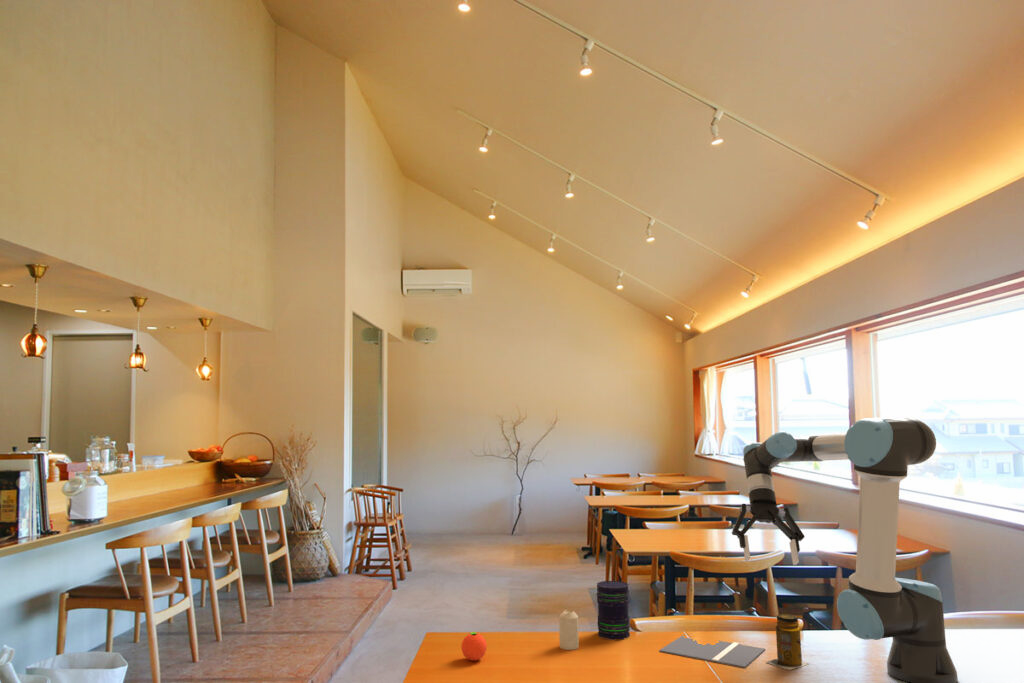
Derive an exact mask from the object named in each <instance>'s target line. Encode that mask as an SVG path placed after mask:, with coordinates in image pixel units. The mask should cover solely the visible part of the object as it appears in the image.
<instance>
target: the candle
mask: <svg viewBox="0 0 1024 683" xmlns="http://www.w3.org/2000/svg"><path fill="white" fill-rule="evenodd" d="M558 620H559V621H558V623H559V624H558V627H559V629H558V630H559V648H560V649H562V650H566V651H567V650H568V651H574V650H577V649H579V648H580V647H579V644H580V643H579V641H580V640H579V616H578V614H577V613H576V612H575V611H574V610H568V609H564V611H563V612H562V613H561V614H560V615H559V617H558Z"/></svg>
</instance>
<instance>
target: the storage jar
mask: <svg viewBox="0 0 1024 683" xmlns="http://www.w3.org/2000/svg"><path fill="white" fill-rule="evenodd" d="M596 601H597V607H598V608H597V609H598V610H597V611H598V612H597V613H598V615H597V630H598V631H597V636H598V637H600V638H601V639H606V640H611V641H612V640H614V641H616V640H615V639H621V640H625V639H624V638H626V639H628V638H630V636H631V633H630V632H631V631H630V630H631V629H630V627H631V623H630V616H629V603H630V593H629V584H628V583H627V582H624V581H619V580H605V581H604V580H603V581H599V582H597V583H596ZM598 633H599V634H598ZM627 637H628V638H627Z"/></svg>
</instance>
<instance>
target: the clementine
mask: <svg viewBox="0 0 1024 683" xmlns="http://www.w3.org/2000/svg"><path fill="white" fill-rule="evenodd" d="M487 646H488V644H487V641H486V639H485V637H484V636H483V635H481V634H480V633H477V632H474V631H473V632H469V634H467V635H466V636H464V638H463V640H462V642H461V653H462V654H463V656H464V657H465V658H466V659H467V660H469V661H474V662H475V661H479V660H480V659H482V658H483V657H484V656H485V655H486V653H487Z"/></svg>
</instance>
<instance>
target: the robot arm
mask: <svg viewBox="0 0 1024 683" xmlns="http://www.w3.org/2000/svg"><path fill="white" fill-rule="evenodd" d="M936 447H937V439H936V436H935V433H934V431H933V430H932V429H931V427H930V426H928V425H927V424H926V423H925V422H923V421H922V420H918V419H915V418H910V417H900V418H899V417H898V418H897V417H895V418H894V417H870V418H861V419H860V420H859V419H858V420H856V421H855V422H854V423H853V424H852V425H851V426H850V427H849V428H848V430H847V431H846V432H845V433H844V432H842V433H833V434H832V433H831V434H822V435H811V436H808V435H807V436H793V435H792V434H791V433H789V432H786V431H784V430H782V431H781V430H780V431H777V432H775V433H774V434H771V435H770V436H769V437H768V438H767V439H766V440H764V441H763V442H762V443H761V442H753V443H750V444H747V445H745V446H744V448H743V450H742V453H743V464H744V470H745V475H746V484H747V490H748V491H747V492H748V497H749V505H746V503H742V504H741V506H740V507H739V514H738V516H737V519H736V522H735V524H734V526H733V529H732V531H731V535H733V536H736V538H737V539H738V541H739V542H738V543H739V547H740V548H741V549H743V555H744V561H746V562H747V561H749V559H750V558H751V553H750V544H749V536H748V535H747V534H746V533H747V532H748V530H750V529H751V527H752V526H753V524H755V522H756V521H758V522H759V523H768V524H771V523H772V524H773V525H774V526H776V527H777V528H778V529H779V530H780V531H781V532H782V533H783V534H784V535H785V536H786V537H787V538H788V539H789V540H790V541H789V549H790V554H791V560H792V561H791V562H792V565H793V566H796V565H797V564H798V563H800V560H799V552H800V551H801V547H800V543H799V542H802V540H804V538H805V535H804V533H803V532H802V530H801V528H800V526H798V524H797V522H796V521H795V520H794V518H793V517H792V515H791V514H790V509H789V508H788V507H783V508H778V506H777V498H776V493H775V486H774V485H775V484H774V478H773V474H772V469H773V468H775V467H777V466H778V465H779V464H780V463H792V462H793V463H794V462H795V463H796V462H823V461H843V460H844V461H845V460H846V461H847V460H849V461H850V462H851V463H852V464H853V472H855V473H856V475H858V476H859V495H858V496H859V497H858V514H857V515H858V517H857V518H858V519H857V520H858V521H857V538H856V539H857V540H856V541H857V542H856V543H857V544H856V560H855V561H856V563H855V572H853V573H852V574H851V575H849V576H848V585H847V586H848V587H847V589H843V591H841V592H840V593H839V594H838V596H837V599H836V608H837V614H838V616H839V618H840V620H841V622H842V623H843V624H844V627H845V628H846V629H847V630H848V631H849V632H850V633H851V634H852V635H853V636H854V637H856V638H859V639H861V640H865V641H866V640H867V641H868V640H869V641H870V640H873V641H878V640H881V639H887V638H892V642H891V646H890V648H889V653H888V657H887V661H886V668H887V673H888V675H890V676H892V677H893V678H895V679H898V680H899V679H900V681H902V680H903V682H905V681H906V682H905V683H909V682H911V683H956V682H957V681H958V682H959V680H958V677H959V676H958V671H957V668H956V666H955V664H954V661H953V660H952V656H951V655H950V652H949V651H948V647H947V641H946V629H945V627H946V626H945V615H944V606H943V604H944V600H943V599H942V592H941V589H940V588H939V587H938V586H937V585H936V584H934V583H930V582H925V581H922V580H917V579H910V578H902V577H896V568H897V567H896V566H897V545H898V544H897V543H898V523H899V502H900V484H901V482H902V481H903V480H904V479H906V478H907V477H908V467H909V466H913V465H918V464H922V463H925V462H926V461H928V460H929V459H930V458H931V457H932V456H933V454H934V453H935V450H936ZM748 512H750V514H751V515H752V517H751V519H749V521H748V522H747V523H746V525H745V526H744V527H743V528H742V529H741V530H740V527H741V525H742V523H743V520H744V518H745V516H746V514H747V513H748ZM779 514H780V516H779ZM781 517H783V520H784V521H783V520H782V518H781Z"/></svg>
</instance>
